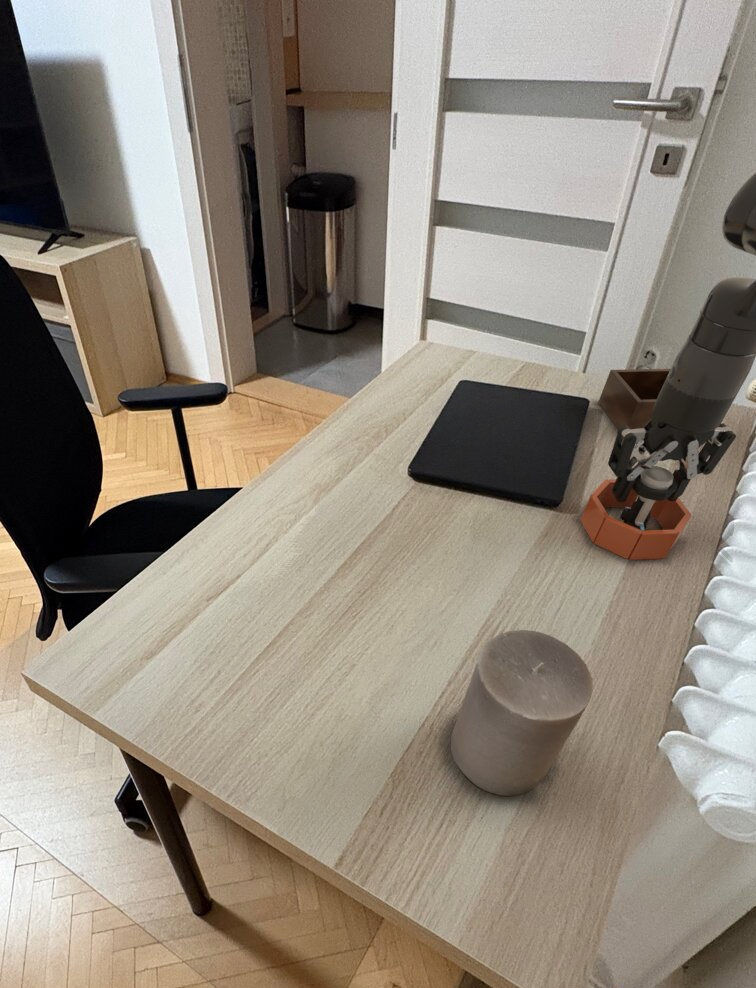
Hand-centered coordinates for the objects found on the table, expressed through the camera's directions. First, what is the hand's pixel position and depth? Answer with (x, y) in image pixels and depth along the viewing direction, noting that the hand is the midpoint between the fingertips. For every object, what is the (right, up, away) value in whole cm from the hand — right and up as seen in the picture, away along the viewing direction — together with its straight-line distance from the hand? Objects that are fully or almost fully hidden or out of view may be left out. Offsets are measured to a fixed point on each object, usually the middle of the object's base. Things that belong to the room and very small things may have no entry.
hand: (644, 497), depth 83 cm
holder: (+13, +18, +25) cm, 34 cm away
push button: (0, -4, +4) cm, 6 cm away
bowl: (0, -4, +4) cm, 6 cm away
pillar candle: (-26, -29, -20) cm, 44 cm away
